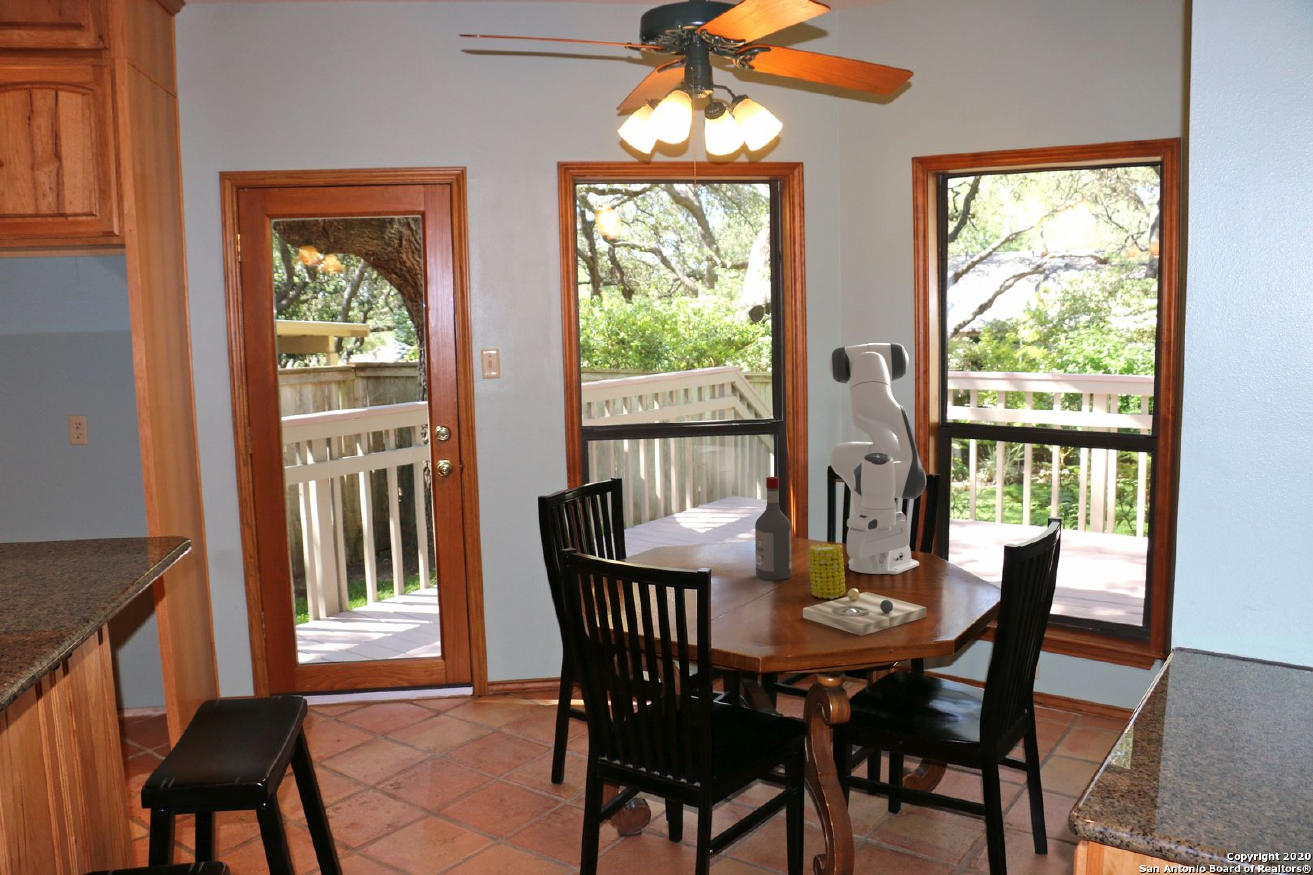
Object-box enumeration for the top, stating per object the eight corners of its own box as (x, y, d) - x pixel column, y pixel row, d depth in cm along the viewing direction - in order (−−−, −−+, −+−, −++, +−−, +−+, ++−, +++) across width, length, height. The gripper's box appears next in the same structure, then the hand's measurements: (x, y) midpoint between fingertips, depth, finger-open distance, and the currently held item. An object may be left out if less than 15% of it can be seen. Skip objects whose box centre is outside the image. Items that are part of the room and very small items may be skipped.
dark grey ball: (885, 609, 257) (886, 597, 256) (895, 612, 254) (895, 600, 254) (877, 612, 255) (877, 599, 254) (887, 615, 252) (887, 602, 252)
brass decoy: (853, 598, 268) (853, 586, 268) (862, 600, 266) (862, 588, 265) (844, 600, 266) (844, 588, 266) (853, 602, 264) (853, 590, 263)
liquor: (768, 582, 297) (766, 480, 293) (752, 575, 305) (751, 476, 302) (794, 578, 300) (793, 478, 297) (778, 571, 309) (777, 474, 305)
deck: (866, 600, 274) (866, 591, 274) (926, 616, 258) (926, 607, 258) (802, 617, 260) (802, 608, 260) (861, 635, 244) (861, 625, 244)
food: (825, 607, 274) (805, 600, 284) (860, 592, 279) (840, 585, 288) (813, 554, 272) (793, 549, 281) (848, 540, 276) (828, 535, 286)
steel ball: (851, 612, 259) (842, 608, 258) (860, 609, 256) (851, 605, 255) (851, 623, 257) (841, 620, 256) (860, 621, 255) (850, 617, 254)
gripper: (895, 508, 268) (896, 559, 270) (842, 521, 256) (842, 574, 258) (914, 512, 263) (915, 563, 265) (861, 525, 251) (861, 579, 253)
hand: (879, 569), depth 262 cm, fingers closed
